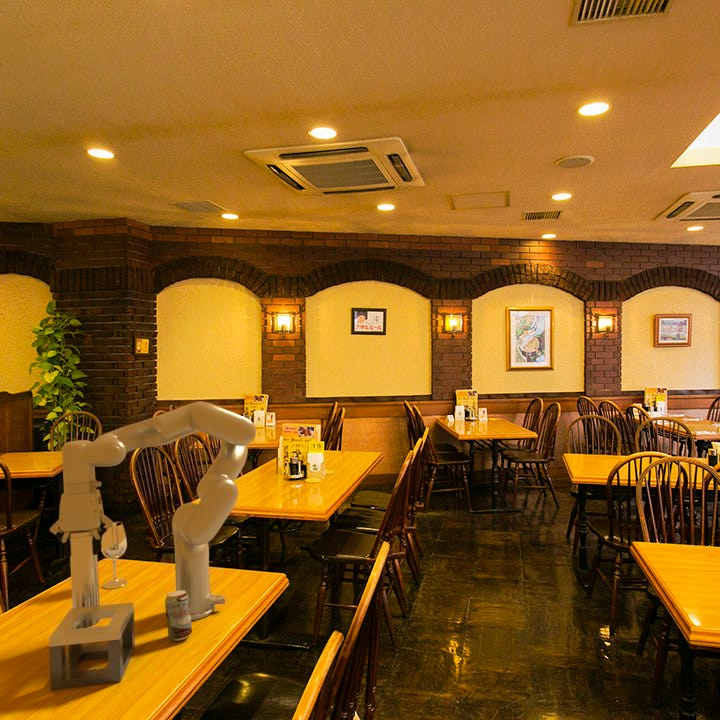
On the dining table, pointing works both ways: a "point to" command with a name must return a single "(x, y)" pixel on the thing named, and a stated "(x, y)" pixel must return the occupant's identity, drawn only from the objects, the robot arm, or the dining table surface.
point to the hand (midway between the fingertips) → (83, 553)
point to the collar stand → (74, 636)
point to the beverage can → (178, 615)
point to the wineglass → (114, 550)
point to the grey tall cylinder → (84, 572)
